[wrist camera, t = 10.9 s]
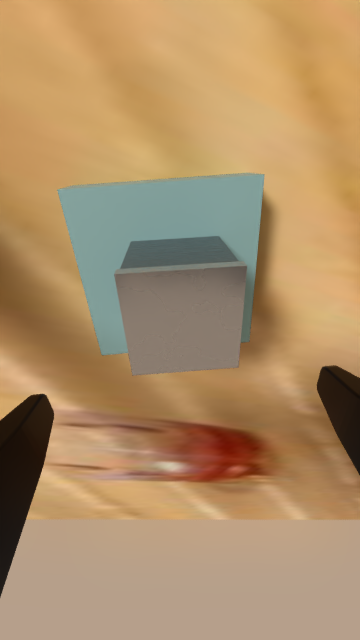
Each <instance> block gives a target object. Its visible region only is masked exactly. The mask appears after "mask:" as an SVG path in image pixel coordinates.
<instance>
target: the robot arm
mask: <svg viewBox="0 0 360 640" xmlns="http://www.w3.org/2000/svg"><path fill="white" fill-rule="evenodd" d="M317 391H318V393H319V396H320V398H321V400H322V402H323V405H324V407H325V409H326V411H327V414H328V416H329V418H330V421H331V423H332V425H333V427H334V429H335V432H336V434H337V436H338V438H339V439H340V441H341V443H342V445H343V447H344V448H345V450H346V452H347V454H348V455H349V457H350V459H351V461H352V462H353V464H354V466H355V468H356V469H357V471H358V473H359V475H360V378H359V377H357V376H355V375H353V374H351V373H349V372H347V371H346V370H344V369H342V368H340V367H338V366H334V365H333V366H324V367H322V369H321V371H320V375H319V379H318V382H317ZM53 420H54V411H53V409H52V407H51V404H50V402H49V400H48V398H47V396H46V395H45V394H36V395H31V396H29V397H28V398H27V399H26V400H24V401H23V402H22V403H21V404H20V405H18V406H17V407H16V408H15V409H13V410H12V411H11V412H10V413H9V414H7V415H6V416H5V417H4V418H3V419H1V420H0V596H1V593H2V590H3V587H4V584H5V581H6V578H7V575H8V572H9V569H10V566H11V563H12V560H13V557H14V554H15V551H16V548H17V545H18V542H19V539H20V536H21V532H22V529H23V526H24V524H25V520H26V517H27V514H28V511H29V508H30V505H31V502H32V499H33V496H34V493H35V490H36V487H37V484H38V481H39V478H40V475H41V472H42V468H43V465H44V461H45V457H46V452H47V447H48V443H49V438H50V433H51V429H52V424H53Z"/></svg>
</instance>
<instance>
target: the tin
mask: <svg viewBox="0 0 360 640" xmlns="http://www.w3.org/2000/svg"><path fill="white" fill-rule="evenodd" d="M246 274H247V265H246V264H245V262H244V261H239V260H238V259H237V258H236V257H235V255H234V254H233V253H232V252H231V250H230V249H229V248H228V247H227V245H226V244H225V243H224V242H223V240H222V239H221V238H220V236H210V237H194V238H177V239H161V240H145V241H131V242H130V245H129V247H128V250H127V252H126V255H125V257H124V260H123V262H122V265H121V267H120V269H116V271H115V273H114V277H115V282H116V288H117V293H118V299H119V304H120V310H121V315H122V321H123V326H124V332H125V337H126V343H127V348H128V354H129V359H130V365H131V370H132V375H145V374H158V373H172V372H185V371H198V370H211V369H225V368H238V366H239V355H240V343H241V332H242V320H243V309H244V297H245V286H246Z"/></svg>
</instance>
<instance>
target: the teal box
mask: <svg viewBox="0 0 360 640" xmlns="http://www.w3.org/2000/svg"><path fill="white" fill-rule="evenodd" d="M263 185H264V174H254V173H239V174H226V175H212V176H198V177H184V178H170V179H157V180H143V181H129V182H115V183H101V184H88V185H74V186H69V187H66V188H62V189H58V194H59V198H60V202H61V205H62V209H63V213H64V216H65V220H66V224H67V228H68V231H69V235H70V239H71V243H72V246H73V250H74V254H75V257H76V261H77V265H78V269H79V272H80V276H81V280H82V283H83V287H84V291H85V295H86V298H87V302H88V306H89V310H90V313H91V317H92V321H93V324H94V328H95V332H96V336H97V339H98V343H99V347H100V351H101V354H102V355H111V354H122V353H128V348H127V343H126V337H125V332H124V326H123V321H122V315H121V310H120V304H119V299H118V293H117V288H116V282H115V277H114V273H115V271H116V269H120V267H121V265H122V262H123V260H124V257H125V255H126V252H127V250H128V247H129V245H130V242H131V241H145V240H161V239H177V238H194V237H210V236H220V238H221V239H222V240H223V242H224V243H225V244H226V245H227V247H228V248H229V249H230V250H231V252H232V253H233V254H234V255H235V257H236V258H237V259H238V260H239V261H244V262H245V264H246V265H247V274H246V286H245V297H244V309H243V320H242V332H241V342H249V340H250V329H251V318H252V307H253V296H254V285H255V274H256V263H257V252H258V240H259V229H260V218H261V207H262V196H263Z"/></svg>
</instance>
